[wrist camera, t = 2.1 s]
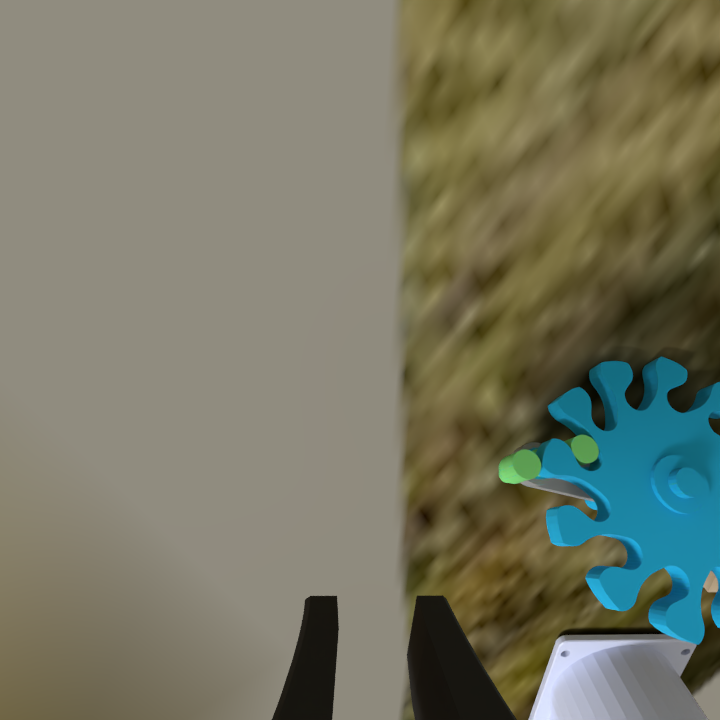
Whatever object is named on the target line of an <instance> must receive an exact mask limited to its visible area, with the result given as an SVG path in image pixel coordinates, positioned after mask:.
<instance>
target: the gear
mask: <svg viewBox="0 0 720 720" xmlns="http://www.w3.org/2000/svg"><path fill="white" fill-rule="evenodd" d="M642 376H643V380H644V388H645V389H644V397H643V400H642V402H641V404H640V406H639V408H638V409H637V410H635V409H633V408H632V407H631V406H630V405H629V404H628V403H627V401H626V399H625V391H626V389H627V387H628V386H629V385H630V383H631V381H632V379H633V372H632V369H631V367H630V365H629V364H628V363H626V362H622V361H608V362H602V363H600V364H598V365H597V366H595V367H594V368H592V369H590V372H589V378H590V381H591V383H592V385H593V386H594V388H595V389H596V390H597V392H598V394H599V395H600V397H601V400H602V402H603V405H604V409H605V430H604V431H603V430H601V429H599V428H598V427H597V426H596V425H595V424H594V422H593V420H592V416H591V400H590V397H589V395H588V394H587V393H586V391H584V390H583V389H582V388H580V387H577V388H573V389H571V390H569V391H568V392H566V393H564V394H563V395H561V396H559V397H558V398H556V399H555V400H554V401H553V402H552V403H550V404H549V405H548V410H549V412H550V414H551V415H552V417H553V418H554V419H555V420H557V421H558V422H560V423H562V424H564V425H565V426H567V427H568V428H569V429H570V430H571V431H573V432H574V433H575V434H576V437H573V438H571V439H569V440H566V441H564V442H563V441H562V440H559V439H553V438H552V439H550V440H548V441H546V442H543V443H542V444H541V443H537V442H532V443H528V444H526V445H524V446H521V447H519V448H517V449H516V450H515V451H514V452H513V454H511V455H509V456H507V457H505V458H503V459H502V460H501V462H500V464H499V477H500V479H501V480H502V481H503V482H505V483H512V484H516V483H521V484H523V485H525V486H528V487H532V488H537V489H541V490H545V491H550V492H554V493H558V494H563V495H567V496H571V497H576V498H580V499H584V500H585V502H586V504H587V505H588V506H589V507H590V508H591V509H594V510H598V512H597V517H596V518H595V520H594V521H593V520H591V519H590V518H589V517H588V516H586V515H585V514H584V513H583V512H582V511H580V510H579V509H578V508H576V507H574V506H569V505H566V506H559V507H553V508H550V509H548V510H547V514H546V521H547V528H548V532H549V536H550V539H551V543H553V544H555V545H558V546H578V545H581V544H582V543H584V542H585V541H586V540H588V539H590V538H592V537H594V536H597V535H603V536H608V537H612V538H616V539H618V540H619V541H621V542H622V543H623V545H624V546H625V548H626V550H627V554H628V558H627V562H626V564H625V565H624V566H623V567H622V568H619V567H608V566H596V567H593V568H592V569H590V570H589V572H588V573H587V575H586V580H587V583H588V585H589V587H590V588H591V590H592V592H593V593H594V594H595V596H596V597H597V598H598V600H599V601H600V602H601V603H602V604H603V605H604V606H605V608H608V609H613V610H617V611H626V610H628V609H630V608H631V607H632V606H633V605H634V603H635V602H636V598H637V594H638V592H639V589H640V587H641V585H642V584H643V582H644V581H645V580H646V578H648V577H649V576H650V575H651V574H652V573H654V572H656V571H658V570H660V569H662V568H665V569H666V570H667V571H668V573H669V574H670V576H671V579H672V584H673V586H672V590H671V592H670V594H669V595H667V596H665V597H663V598H661V599H659V600H657V601H655V602H654V603H653V604H652V605H651V607H650V610H649V622H650V623H651V624H652V625H653V626H654V627H655V628H656V629H658V630H659V631H661V632H662V633H664V634H666V635H668V636H671V637H673V638H676V639H678V640H681V641H685V642H689V643H693V644H697V645H699V644H700V642H701V641H702V639H703V637H704V632H705V630H704V623H703V619H702V614H701V594H702V588H703V586H704V583H705V581H706V579H707V577H708V575H709V573H710V571H712V572H713V573H714V574H715V576H716V578H717V581H718V591H717V594H716V596H715V598H714V600H713V602H712V605H711V614H712V618H713V620H714V622H715V624H716V626H717V627H718V628H720V436H719V435H718V434H716V433H715V432H714V431H713V430H712V429H711V427H710V425H709V421H708V418H713V419H719V418H720V382H718V383H715V384H713V385H710V386H708V387H705V388H703V389H700V390H699V391H698V393H697V394H696V398H695V401H694V403H693V405H692V406H691V407H690V409H689V410H687V411H686V412H685V413H680V412H677V411H675V410H674V409H673V408H672V407H671V406H670V405H669V403H668V400H667V393H668V391H669V390H671V389H673V388H676V387H678V386H680V385H682V384H684V383H685V382H686V380H687V370H686V369H685V368H684V367H683V366H681V365H680V364H678V363H676V362H674V361H672V360H670V359H667V358H664V357H659V358H657V359H655V360H654V361H652V362H650V363H648V364H647V365H645V366H644V368H643V371H642Z"/></svg>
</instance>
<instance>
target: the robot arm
mask: <svg viewBox="0 0 720 720" xmlns="http://www.w3.org/2000/svg"><path fill="white" fill-rule="evenodd" d="M338 630H339V628H338V607H337V596H310V597H308V598H307V599H306V600H305V607H304V615H303V620H302V626H301V630H300V634H299V638H298V642H297V646H296V649H295V653H294V656H293V660H292V663H291V666H290V669H289V673H288V676H287V678H286V681H285V685H284V688H283V691H282V694H281V697H280V700H279V702H278V705H277V708H276V710H275V713H274V716H273V719H272V720H332V713H333V700H334V686H335V672H336V657H337V643H338ZM696 645H697V644H693V643H689V642H685V641H681V640H678V639H676V638H673V637H671V636H668V635H666V634H617V635H563V636H561V637H559V638H558V639H557V640H556V643H555V645H554V648H553V651H552V654H551V657H550V660H549V663H548V665H547V668H546V671H545V674H544V677H543V680H542V683H541V685H540V688H539V691H538V694H537V697H536V700H535V703H534V705H533V708H532V711H531V714H530V717H529V720H708V718H707V717H706V715H705V714H704V712H703V711H702V709H701V708H700V706H699V705H698V703H697V702H696V700H695V699H694V697H693V696H692V694H691V693H690V691H689V690H688V688H687V687H686V685H685V684H684V683H683V681H682V680H681V678H680V676H681V674H682V672H683V670H684V668H685V666H686V665H687V663H688V661H689V659H690V657H691V655H692V653H693V651H694V649H695V648H696ZM407 659H408V669H409V679H410V688H411V697H412V705H413V711H414V716H415V720H517V719H516V718H515V716H514V715H513V713H512V712H511V710H510V709H509V707H508V706H507V704H506V703H505V701H504V700H503V698H502V696H501V695H500V693H499V692H498V690H497V688H496V687H495V685H494V683H493V682H492V680H491V679H490V677H489V675H488V674H487V672H486V671H485V669H484V667H483V666H482V664H481V662H480V660H479V659H478V657H477V655H476V654H475V652H474V650H473V648H472V647H471V645H470V643H469V641H468V639H467V638H466V636H465V634H464V632H463V630H462V629H461V627H460V625H459V623H458V621H457V619H456V617H455V615H454V613H453V611H452V609H451V607H450V605H449V603H448V601H447V599H446V598H445V597H444V596H417V599H416V605H415V611H414V617H413V622H412V628H411V634H410V640H409V646H408V652H407Z"/></svg>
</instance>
